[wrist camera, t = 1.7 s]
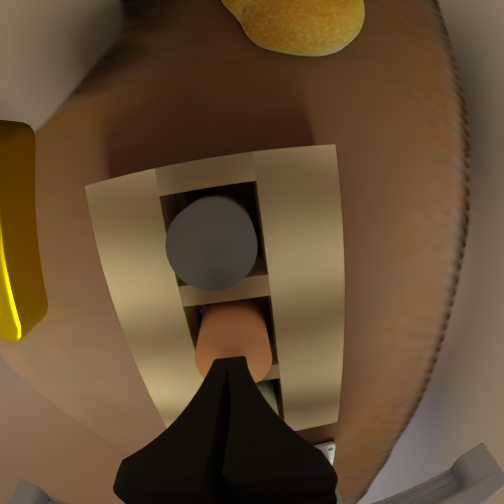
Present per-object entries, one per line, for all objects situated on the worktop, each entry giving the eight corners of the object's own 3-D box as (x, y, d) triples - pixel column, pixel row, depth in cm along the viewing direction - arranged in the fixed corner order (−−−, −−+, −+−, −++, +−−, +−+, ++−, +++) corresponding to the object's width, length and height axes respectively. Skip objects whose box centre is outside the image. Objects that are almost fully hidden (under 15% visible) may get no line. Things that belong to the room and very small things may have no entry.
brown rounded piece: (268, 345, 16) (275, 383, 13) (208, 352, 16) (204, 391, 13) (261, 291, 15) (267, 324, 12) (195, 300, 15) (186, 334, 12)
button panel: (327, 395, 20) (337, 421, 17) (179, 413, 20) (174, 440, 17) (317, 148, 15) (335, 144, 12) (109, 182, 15) (84, 185, 12)
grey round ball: (256, 257, 15) (262, 284, 12) (188, 267, 15) (176, 295, 11) (247, 188, 14) (250, 194, 10) (175, 200, 14) (157, 209, 10)
